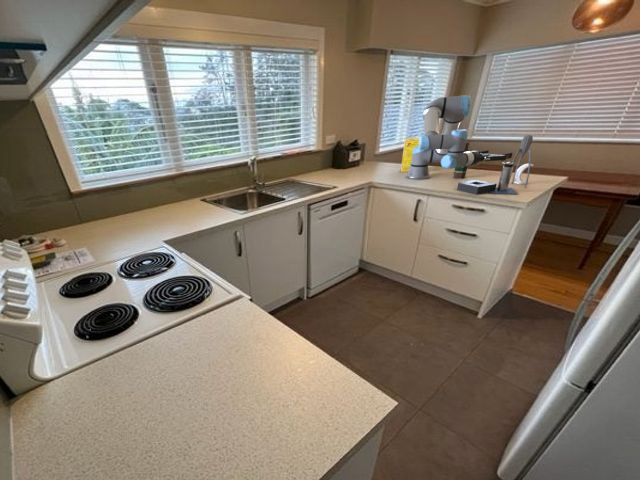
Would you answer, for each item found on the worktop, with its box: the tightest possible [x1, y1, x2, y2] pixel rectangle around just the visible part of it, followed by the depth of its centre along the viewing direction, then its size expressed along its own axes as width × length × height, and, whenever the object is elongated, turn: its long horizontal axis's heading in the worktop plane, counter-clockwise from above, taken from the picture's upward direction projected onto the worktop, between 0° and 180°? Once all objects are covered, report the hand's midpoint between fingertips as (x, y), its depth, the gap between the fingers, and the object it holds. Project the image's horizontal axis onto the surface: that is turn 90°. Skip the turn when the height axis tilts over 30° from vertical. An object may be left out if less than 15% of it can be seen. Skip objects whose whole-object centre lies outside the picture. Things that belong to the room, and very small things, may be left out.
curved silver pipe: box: [513, 162, 534, 185], centre depth 188 cm, size 5×6×12 cm
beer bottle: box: [452, 142, 470, 180], centre depth 211 cm, size 8×8×24 cm
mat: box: [489, 186, 518, 196], centre depth 179 cm, size 14×12×1 cm
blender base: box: [456, 179, 498, 195], centre depth 184 cm, size 14×14×4 cm
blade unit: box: [496, 161, 518, 191], centre depth 175 cm, size 6×6×17 cm
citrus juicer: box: [511, 134, 534, 189], centre depth 180 cm, size 11×10×30 cm
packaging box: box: [400, 137, 420, 173], centre depth 246 cm, size 16×16×25 cm
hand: (499, 154), depth 167 cm, fingers open, 13 cm apart
